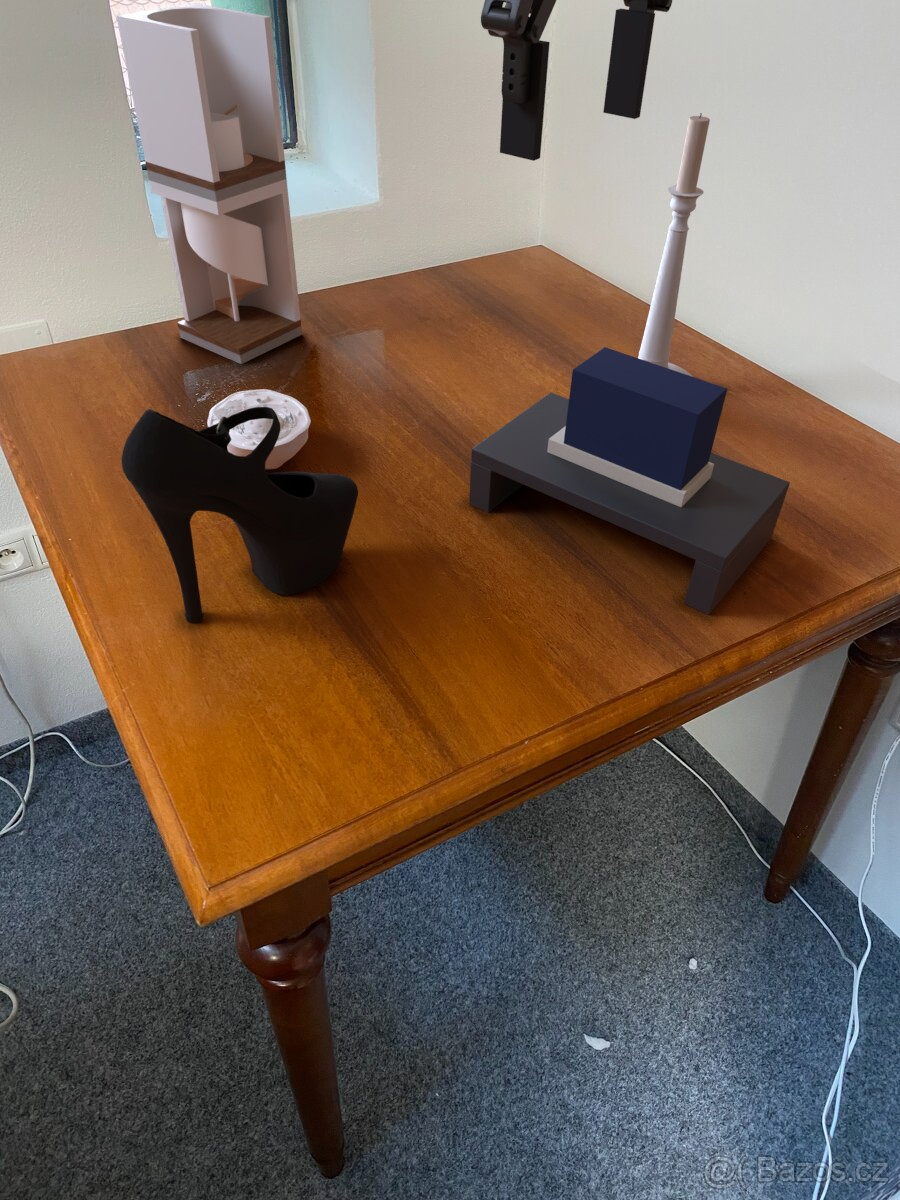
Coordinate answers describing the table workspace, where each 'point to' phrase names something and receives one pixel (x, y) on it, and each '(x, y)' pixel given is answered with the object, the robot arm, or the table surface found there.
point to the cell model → (264, 424)
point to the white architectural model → (217, 171)
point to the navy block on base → (641, 425)
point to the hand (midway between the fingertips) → (573, 134)
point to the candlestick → (674, 250)
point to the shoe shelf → (637, 499)
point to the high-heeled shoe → (238, 501)
